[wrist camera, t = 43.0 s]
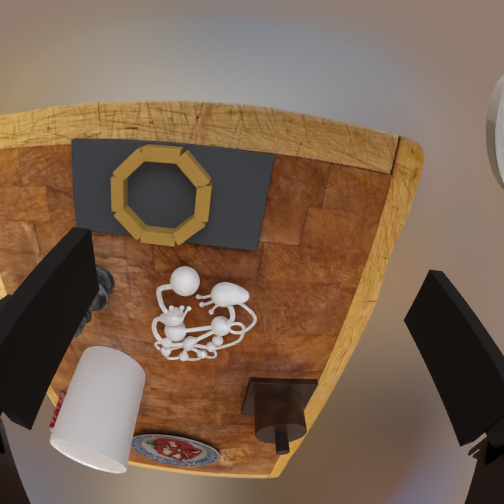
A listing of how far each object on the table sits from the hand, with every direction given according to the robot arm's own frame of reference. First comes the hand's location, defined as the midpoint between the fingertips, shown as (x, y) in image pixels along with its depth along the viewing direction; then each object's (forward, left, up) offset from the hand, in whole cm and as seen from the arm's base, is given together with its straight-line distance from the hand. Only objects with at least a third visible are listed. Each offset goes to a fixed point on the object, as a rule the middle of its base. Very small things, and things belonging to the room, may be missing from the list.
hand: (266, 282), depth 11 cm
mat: (+9, +6, -24) cm, 27 cm away
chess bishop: (+19, +21, -25) cm, 38 cm away
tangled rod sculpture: (+3, +25, -25) cm, 35 cm away
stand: (-13, +46, -24) cm, 54 cm away
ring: (+9, +6, -24) cm, 26 cm away
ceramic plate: (+9, +80, -25) cm, 84 cm away
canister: (+20, +43, -25) cm, 53 cm away
